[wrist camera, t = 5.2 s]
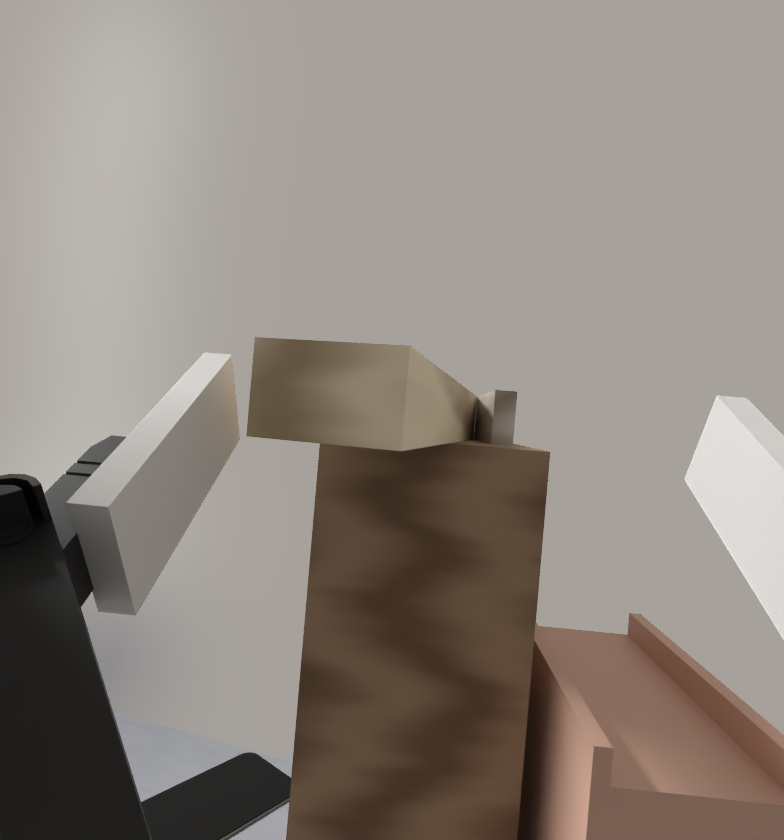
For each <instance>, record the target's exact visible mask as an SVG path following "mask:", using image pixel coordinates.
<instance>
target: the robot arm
mask: <svg viewBox="0 0 784 840" xmlns="http://www.w3.org/2000/svg"><path fill="white" fill-rule="evenodd" d="M239 440H240V437H239V426H238V415H237V405H236V394H235V385H234V373H233V363H232V355H228V354H216V353H204V354H203V355H202V356H201V357H200V358H199V359H198V360H197V361H196V362H195V363H194V364H193V365H192V367H191V368H190V369H189V370H188V371H187V372H186V373H185V374H184V375H183V376H182V377H181V378H180V380H179V381H178V382H177V383H176V384H175V385H174V386H173V387H172V388H171V389H170V390H169V392H168V393H167V394H166V395H165V396H164V397H163V398H162V399H161V400H160V402H158V403H157V405H156V406H155V407H154V408H153V409H152V410H151V411H150V412H149V413H148V414H147V416H146V417H144V419H143V420H142V421H141V422H140V423H139V424H138V425H137V426H136V427H135V428H134V429H133V430H132V432H131V433H130V434H129V435H128V436H127V437H121V436H110V437H108V438H106V439H105V440H103V441H101V442H99V443H97V444H95V445H93V446H92V447H90V448H89V449H88V450H87V451H86V453H84V454H83V455H82V457H80V458H79V459H78V461H77V463H74V464H73V465H72V466H71V467H70V468H69V469H68V470H67V471H66V475H62V476H61V477H60V478H59V480H58V481H56V482H55V483H54V484H53V486H52V487H50V488H49V489H48V490H47V492H45V493H44V492H43V489H42V486H41V484H40V483H39V481H38V480H37V479H36V478H34V477H31V476H28V475H25V474H8V475H2V476H0V840H152V837H151V834H150V830H149V827H148V824H147V821H146V817H145V814H144V811H143V808H142V804H141V801H140V798H139V795H138V791H137V788H136V785H135V782H134V778H133V775H132V772H131V769H130V766H129V762H128V759H127V756H126V753H125V749H124V746H123V743H122V740H121V736H120V733H119V730H118V727H117V723H116V720H115V717H114V714H113V711H112V707H111V704H110V701H109V698H108V694H107V691H106V688H105V685H104V681H103V678H102V675H101V672H100V668H99V665H98V662H97V659H96V656H95V653H94V649H93V646H92V643H91V639H90V636H89V633H88V630H87V626H86V623H85V620H84V617H83V614H82V611H81V606H82V605H83V603H84V602H85V600H86V599H87V597H88V596H89V595H90V593H91V592H93V595H94V598H95V602H96V605H97V608H98V611H100V612H108V613H118V614H128V615H136V614H137V612H138V611H139V609H140V607H141V606H142V604H143V602H144V601H145V599H146V597H147V595H148V594H149V592H150V590H151V589H152V587H153V585H154V584H155V582H156V580H157V579H158V577H159V575H160V574H161V572H162V570H163V569H164V567H165V565H166V563H167V562H168V560H169V558H170V557H171V555H172V553H173V552H174V550H175V548H176V547H177V545H178V543H179V541H180V540H181V538H182V536H183V535H184V533H185V531H186V530H187V528H188V526H189V524H190V523H191V521H192V519H193V518H194V516H195V514H196V512H197V511H198V509H199V508H200V506H201V504H202V502H203V500H204V499H205V497H206V496H207V494H208V492H209V491H210V489H211V487H212V485H213V484H214V482H215V480H216V478H217V477H218V475H219V474H220V472H221V470H222V469H223V467H224V465H225V463H226V462H227V460H228V458H229V457H230V455H231V453H232V452H233V450H234V448H235V447H236V445H237V443H238V441H239ZM684 480H685V481H686V483H687V484H688V486H689V488H690V489H691V491H692V493H693V494H694V496H695V497H696V499H697V501H698V502H699V504H700V505H701V507H702V509H703V510H704V512H705V514H706V515H707V517H708V519H709V520H710V522H711V523H712V525H713V527H714V528H715V530H716V531H717V533H718V535H719V536H720V538H721V540H722V541H723V542H724V544H725V546H726V548H727V549H728V551H729V552H730V554H731V556H732V557H733V559H734V560H735V562H736V564H737V565H738V567H739V569H740V570H741V572H742V573H743V575H744V577H745V578H746V580H747V582H748V583H749V585H750V586H751V588H752V590H753V591H754V593H755V595H756V596H757V598H758V599H759V601H760V603H761V604H762V606H763V607H764V609H765V611H766V612H767V614H768V615H769V617H770V619H771V620H772V622H773V624H774V625H775V627H776V628H777V630H778V632H779V633H780V635H781V636H782V638H783V640H784V436H783V435H782V434H781V433H780V432H779V431H778V430H777V429H776V428H775V427H774V426H773V425H772V424H771V423H770V422H769V421H768V419H766V417H764V416H763V414H762V413H761V412H760V411H759V410H758V409H757V408H756V407H755V406H754V405H753V404H752V403H751V402H750V401H749V400H748V399H747V398H739V397H728V396H717V397H716V400H715V402H714V405H713V407H712V409H711V412H710V415H709V417H708V420H707V422H706V425H705V427H704V431H703V433H702V435H701V438H700V440H699V443H698V445H697V448H696V451H695V453H694V456H693V458H692V461H691V463H690V466H689V469H688V471H687V474H686V476H685V479H684Z"/></svg>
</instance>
